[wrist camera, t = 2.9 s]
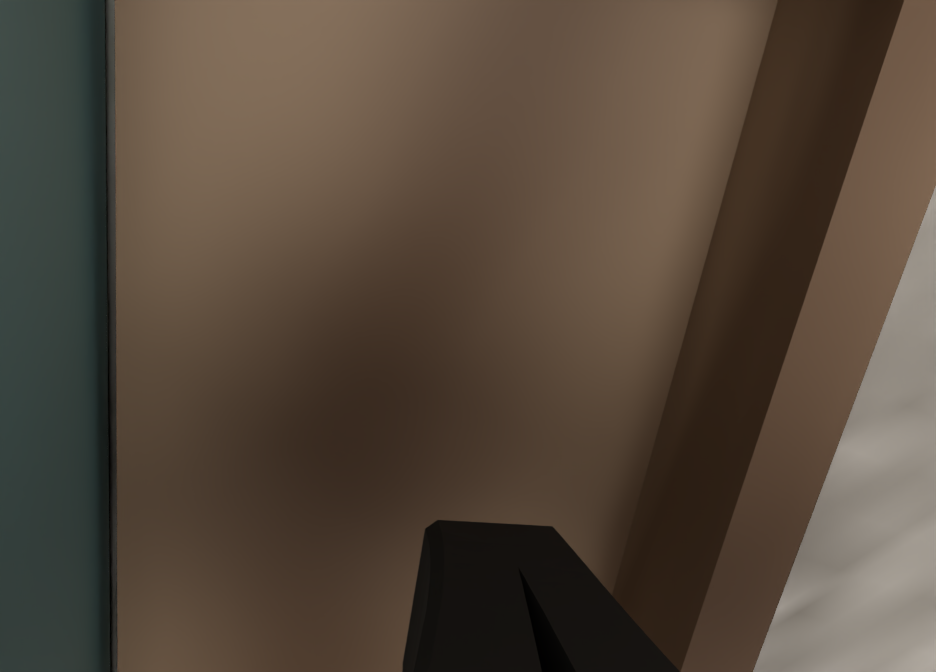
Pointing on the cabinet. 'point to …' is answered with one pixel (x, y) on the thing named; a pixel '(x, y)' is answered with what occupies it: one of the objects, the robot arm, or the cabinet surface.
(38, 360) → the panel
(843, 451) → the cabinet surface
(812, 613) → the cabinet surface
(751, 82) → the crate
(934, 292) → the cabinet surface
